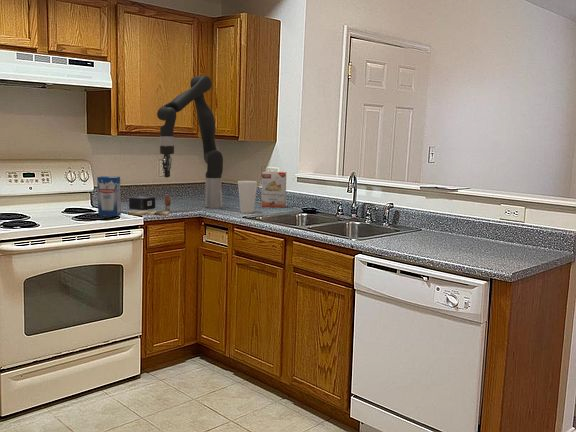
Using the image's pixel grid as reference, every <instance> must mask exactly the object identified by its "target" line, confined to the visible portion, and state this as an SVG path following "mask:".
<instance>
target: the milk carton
mask: <svg viewBox="0 0 576 432" xmlns="http://www.w3.org/2000/svg"><path fill="white" fill-rule="evenodd" d="M96 178H97V211H98V213H97V214H98V215H100V216H99V217H104V216H103V215H107V216H106V217H112V216H118V217H119V216H122V212H121V211H122V209H121V207H122V205H121V176H103V175H102V176H97V177H96ZM98 215H97V216H98ZM101 215H102V216H101Z"/></svg>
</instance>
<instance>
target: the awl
mask: <svg viewBox="0 0 576 432" xmlns="http://www.w3.org/2000/svg"><path fill="white" fill-rule="evenodd" d="M164 206H165V210H164V211H170V212H171V195H167V194H166V195H164Z"/></svg>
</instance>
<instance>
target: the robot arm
mask: <svg viewBox="0 0 576 432" xmlns="http://www.w3.org/2000/svg"><path fill="white" fill-rule="evenodd" d="M189 86H190V88H189V89H186V90H185V91H184V92H181V93H180V94H179V95H178V94H177V96H175V98H173V99H172V100H171V101H169V102H167V103H166V104H164V105H162V106H161V107H159V108H158V110H157V113H156V117H157V118H158V120H160V121H164V124H162V125H161V126H160V129H159V132H160V133H159V136H160V137H159V153H160V155H163V157H162V160H161V161H162V170H163V171H164V172H163V173H164V178H167V179H168V178H170V177H171V169H172V160H173V158H172V157H171V155H174V154H175V138H174V137H175V136H174V134H175V133H174V129H175V124H176V120H177V113H180V112H181V111H182V110H184V109H185V108H186V107H187V106H188V105H189V104H190V103H192V102H193V101H194V104H195V110H196V115H197V122H198V127H199V131H200V132H199V133H200V136H201V141H202V149H203V159H204V161H205V163H206V164H207V165H206V167H207V168H206V171H205V208H209V209H216V208H217V209H219V208H223V191H222V175H223V169H224V168H223V167H224V157H223V154H222V152H221V151H220V150H217V145H216V142H215V141H216V140H215V137H216V121H215V120H216V119H215V116H214V113H213V111H212V109H211V108H210V106H209V104H207V102H206V98H205V93H207V92H208V91H210V90H211V88H212V87H213V82H212V79H211V78H210V76H209V75H206V74H203V75H198V76H197V75H196V76H193V77H192V78H191V79H190V85H189Z"/></svg>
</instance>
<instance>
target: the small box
mask: <svg viewBox="0 0 576 432" xmlns="http://www.w3.org/2000/svg"><path fill="white" fill-rule="evenodd" d="M128 208H129V209H131V210H141V209H142V210H141V211H145V210H149V209H150V208H151V209H155V208H156V197H155V196H143V195H142V196H134V197H129V198H128ZM144 209H145V210H144Z"/></svg>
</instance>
